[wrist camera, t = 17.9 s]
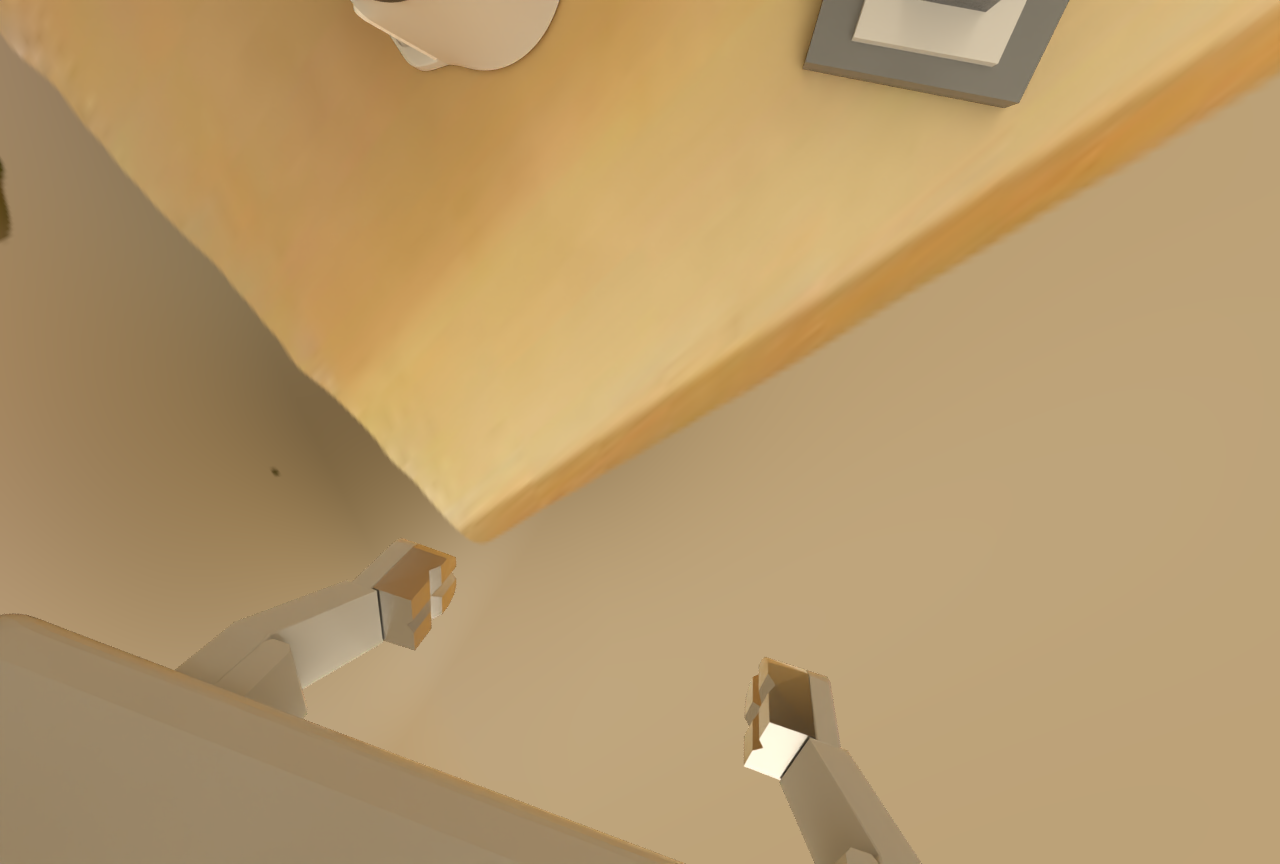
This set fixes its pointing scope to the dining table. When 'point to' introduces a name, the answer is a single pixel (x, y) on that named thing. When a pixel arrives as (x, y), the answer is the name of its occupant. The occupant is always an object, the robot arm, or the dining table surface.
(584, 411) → the dining table surface
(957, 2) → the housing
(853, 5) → the press
